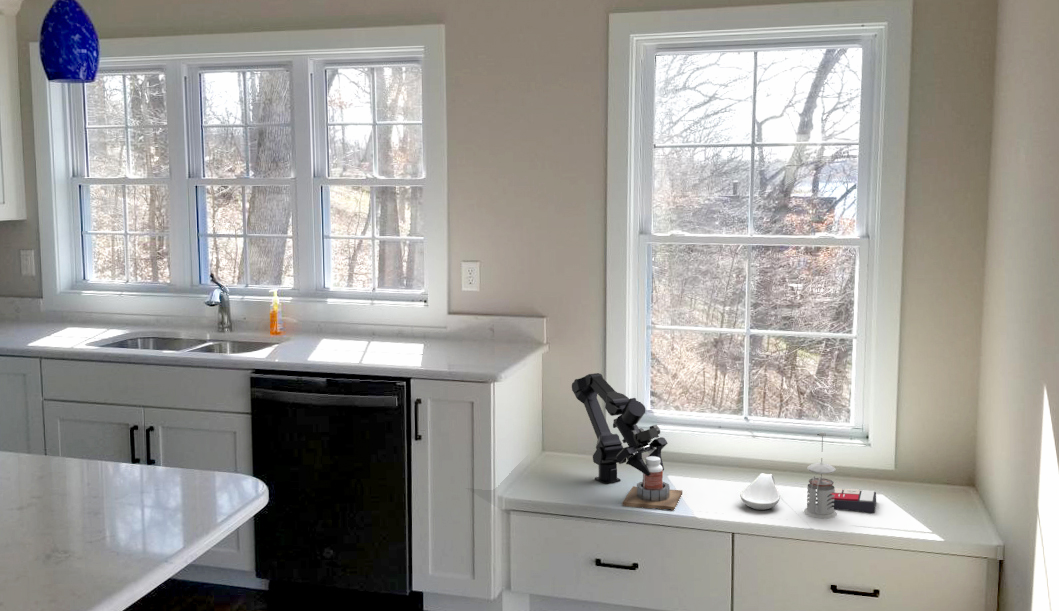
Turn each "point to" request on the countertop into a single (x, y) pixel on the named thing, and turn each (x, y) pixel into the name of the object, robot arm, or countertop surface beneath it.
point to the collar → (653, 493)
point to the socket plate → (666, 504)
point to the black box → (854, 500)
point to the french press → (820, 491)
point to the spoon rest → (761, 493)
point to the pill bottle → (653, 473)
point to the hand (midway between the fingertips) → (656, 473)
